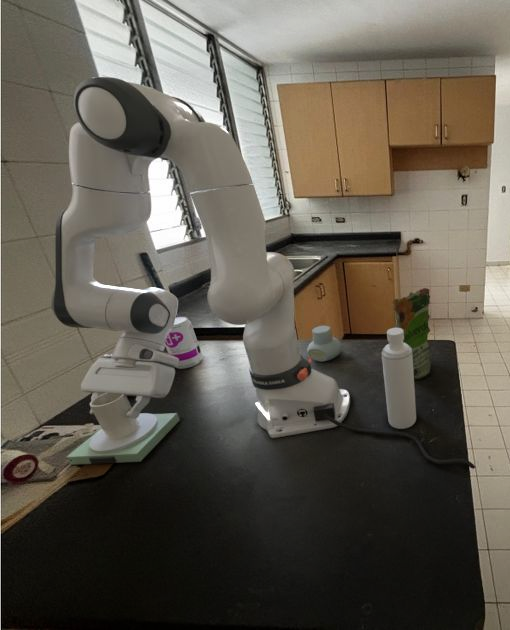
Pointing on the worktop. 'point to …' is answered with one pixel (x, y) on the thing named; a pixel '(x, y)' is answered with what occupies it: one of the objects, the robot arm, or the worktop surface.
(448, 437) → the worktop surface
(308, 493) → the worktop surface
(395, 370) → the white bottle
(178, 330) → the supplement can
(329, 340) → the air freshener
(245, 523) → the worktop surface
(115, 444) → the scale
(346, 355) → the worktop surface
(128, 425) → the cup
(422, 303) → the pouch
